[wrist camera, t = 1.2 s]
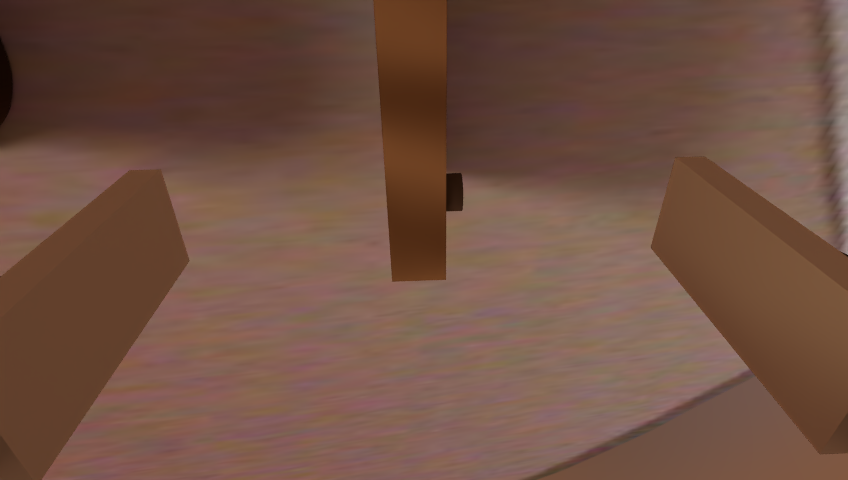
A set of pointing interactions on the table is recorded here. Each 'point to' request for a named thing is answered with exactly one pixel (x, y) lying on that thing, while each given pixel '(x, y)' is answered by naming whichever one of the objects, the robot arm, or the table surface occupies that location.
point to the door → (415, 134)
